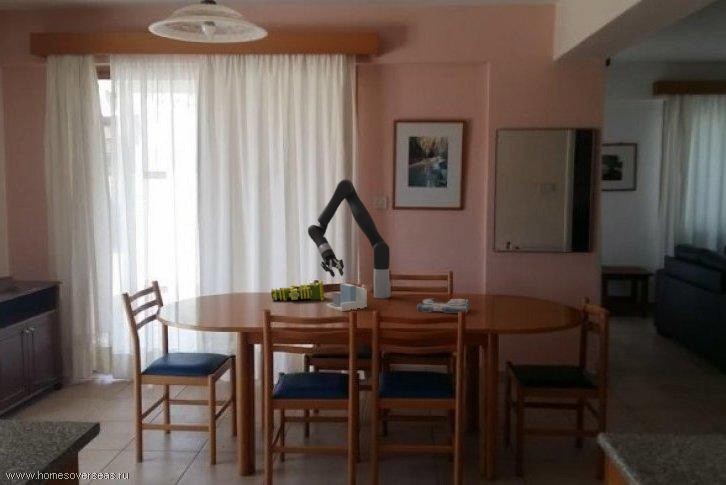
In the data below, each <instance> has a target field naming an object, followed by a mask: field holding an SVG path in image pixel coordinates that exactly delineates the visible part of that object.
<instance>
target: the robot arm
mask: <svg viewBox="0 0 726 485" xmlns="http://www.w3.org/2000/svg"><path fill="white" fill-rule="evenodd" d="M344 200H345V201H346V202H347V204H348V206H349V208H350V211H351V215H352V217H353V219H354V221H355V222H356V225H357V226H358V227H359V229H360V230H361V231H362V233H363V234H364V235H365V236H366V237H367V240H368V242H369V243H370V246H371V248H372V251H373V298H375V299H389V298H391V296H392V295H391V293H392V292H391V289H392V286H391V285H392V284H391V280H390V255H391V254H390V253H391V252H390V246H389V245H388V243H387V242H386V241H385V240H384V238H383V237H382V235H381V233H380V232H379V231H378V228H377V226H376V223H375V221H374V219H373V218H372V216H371V213H370V212H369V210H368V209H367V208H366V206H365V204H364V203H363V201H362V200H361V199H360V197H359V194H358V192H357V190H356V189H355V186H354V183H353V182H352V181H351V180H349V179H347V178H345V179H342V180H340V181H339V182H338V183H337V184H336V188H335V190H334V192H333V194H332V196H331V198H330V199H329V201H328V203H327V204H326V205H325V206H324V208H323V210H322V211H321V213H320V214H319V216H318V218H317V221H318V223H319V224H318V225H316V224H311V225H309V227H307V233H308V236H309V238H310V239H311V240H312V242H313V243H314V244H315V245H316V247H317V250H318V253H319V254H320V257H321V258H322V261H321V262H320V266H321V268H322V269H323V270H324V271H325V273H327V272H328V273H329V274H330V276H331V277H332V278H334V277H335V276H336V274H335V272H334V270H333V268H334V269H337V271H338V273H339V275H340V277H342V276H344V274H345V272H344V271H343V269H344V267H345V265H344V260H343V259H341V258H340V259H338V257H336V253H335V252H334V250H333V248H332V246H331V244H330V243H329V241H328V239H327V237H325V236H326V233H327V230H328V226H329V224H330V223H331V220H333V218H334V216H335V214H336V212H337V211H338V209H339V207H340V205H341V204H342V202H343V201H344Z"/></svg>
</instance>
